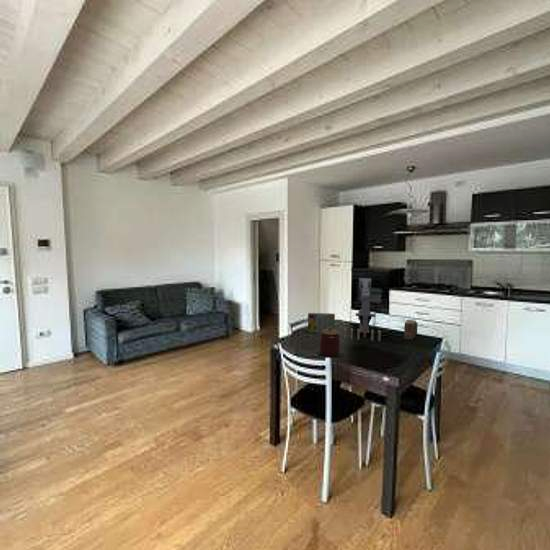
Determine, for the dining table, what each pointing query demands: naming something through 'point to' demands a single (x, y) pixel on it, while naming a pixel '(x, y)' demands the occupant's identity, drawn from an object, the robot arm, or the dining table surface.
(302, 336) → the dining table surface
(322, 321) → the snack box
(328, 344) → the canister
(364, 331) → the terracotta domino
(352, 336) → the domino
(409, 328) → the stack of blocks
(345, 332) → the domino
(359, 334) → the domino
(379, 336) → the domino
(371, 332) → the domino
